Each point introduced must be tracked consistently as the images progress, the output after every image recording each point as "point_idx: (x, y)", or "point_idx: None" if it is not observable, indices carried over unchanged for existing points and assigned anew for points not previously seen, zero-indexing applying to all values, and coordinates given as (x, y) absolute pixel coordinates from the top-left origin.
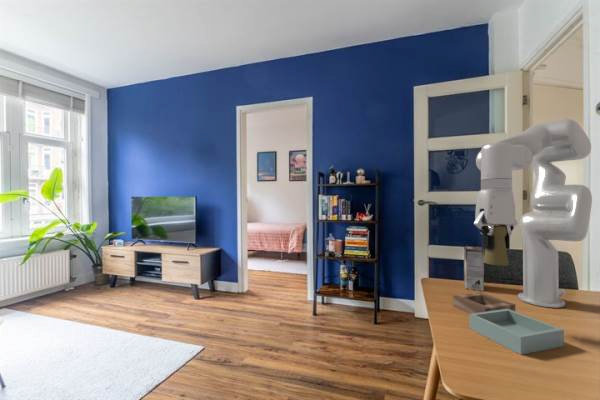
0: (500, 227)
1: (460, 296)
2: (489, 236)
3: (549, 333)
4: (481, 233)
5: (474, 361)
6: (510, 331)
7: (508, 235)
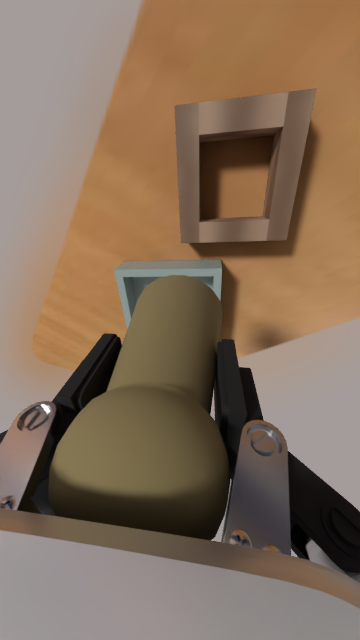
0: None
1: (194, 123)
2: None
3: None
4: (28, 413)
5: (74, 332)
6: None
7: None
